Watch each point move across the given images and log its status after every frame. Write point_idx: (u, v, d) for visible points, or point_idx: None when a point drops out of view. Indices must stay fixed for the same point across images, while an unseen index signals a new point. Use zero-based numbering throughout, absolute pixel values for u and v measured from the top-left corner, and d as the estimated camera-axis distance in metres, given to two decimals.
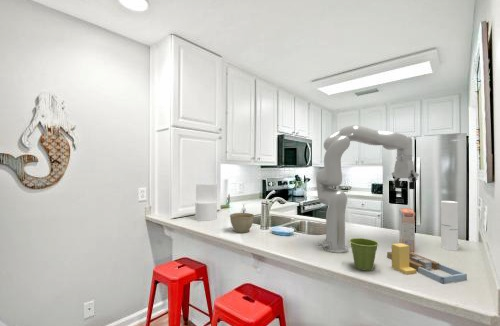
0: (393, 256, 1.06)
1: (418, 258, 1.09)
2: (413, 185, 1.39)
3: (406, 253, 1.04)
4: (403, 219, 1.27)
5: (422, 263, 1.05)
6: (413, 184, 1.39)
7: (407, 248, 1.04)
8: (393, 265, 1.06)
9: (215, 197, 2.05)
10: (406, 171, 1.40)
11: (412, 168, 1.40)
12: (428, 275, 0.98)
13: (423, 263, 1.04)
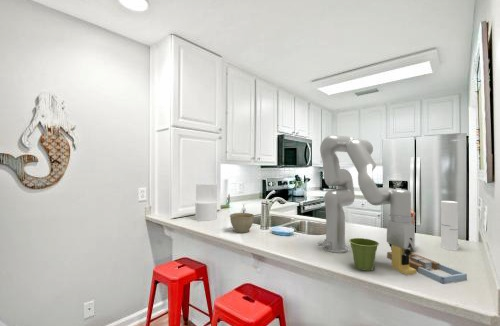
0: (393, 256, 1.06)
1: (418, 258, 1.09)
2: (407, 260, 1.02)
3: None
4: None
5: (422, 263, 1.05)
6: (407, 259, 1.02)
7: None
8: (393, 265, 1.06)
9: (215, 197, 2.05)
10: (403, 239, 1.01)
11: (411, 235, 1.01)
12: (428, 275, 0.98)
13: (423, 263, 1.04)
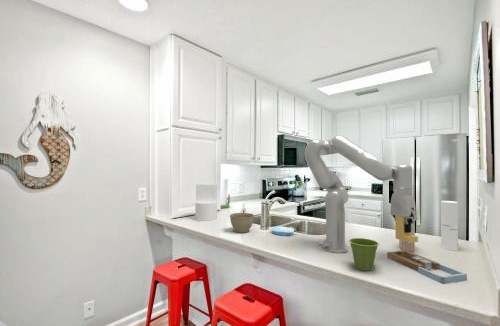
0: (396, 225, 1.17)
1: (418, 258, 1.09)
2: (409, 228, 1.13)
3: None
4: None
5: (422, 263, 1.05)
6: (409, 227, 1.13)
7: None
8: (397, 234, 1.17)
9: (215, 197, 2.05)
10: (405, 209, 1.12)
11: (413, 205, 1.12)
12: (428, 275, 0.98)
13: (423, 263, 1.04)
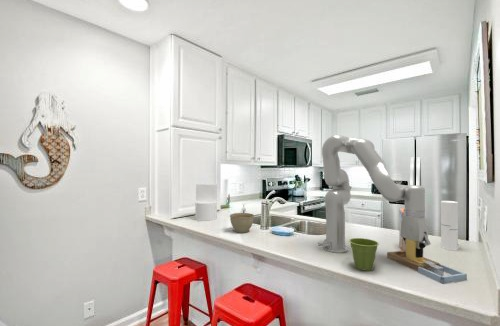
0: (407, 249, 1.11)
1: (430, 263, 1.03)
2: (421, 253, 1.07)
3: None
4: None
5: (434, 269, 1.00)
6: (421, 251, 1.07)
7: None
8: (407, 258, 1.11)
9: (215, 197, 2.05)
10: (417, 233, 1.06)
11: (425, 229, 1.06)
12: (428, 275, 0.98)
13: (435, 269, 1.00)
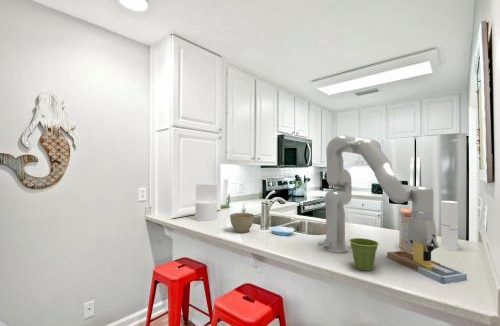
0: (414, 252, 1.07)
1: (439, 267, 1.00)
2: (429, 256, 1.04)
3: None
4: (403, 219, 1.27)
5: (443, 273, 0.97)
6: (429, 255, 1.04)
7: None
8: (415, 261, 1.07)
9: (215, 197, 2.05)
10: (425, 235, 1.02)
11: (433, 231, 1.02)
12: (428, 275, 0.98)
13: (444, 273, 0.96)
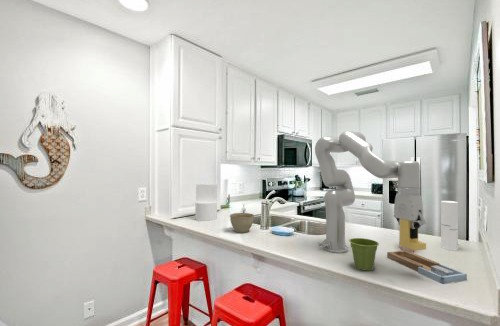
0: (401, 230, 1.02)
1: (439, 267, 1.00)
2: (416, 233, 0.98)
3: None
4: None
5: (443, 273, 0.97)
6: (416, 232, 0.98)
7: None
8: (401, 239, 1.02)
9: (215, 197, 2.05)
10: (411, 211, 0.97)
11: (420, 207, 0.97)
12: (428, 275, 0.98)
13: (444, 273, 0.96)
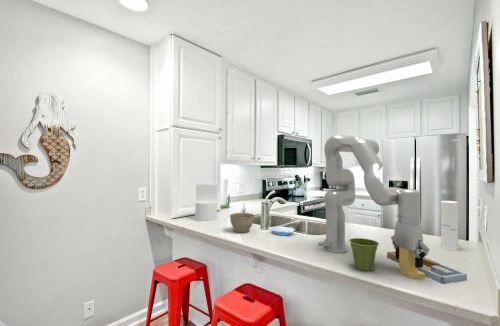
0: (400, 259, 1.02)
1: (439, 267, 1.00)
2: (421, 262, 0.96)
3: (414, 256, 1.00)
4: None
5: (443, 273, 0.97)
6: (421, 261, 0.96)
7: None
8: (401, 269, 1.02)
9: (215, 197, 2.05)
10: (411, 241, 0.97)
11: (420, 237, 0.97)
12: (428, 275, 0.98)
13: (444, 273, 0.96)
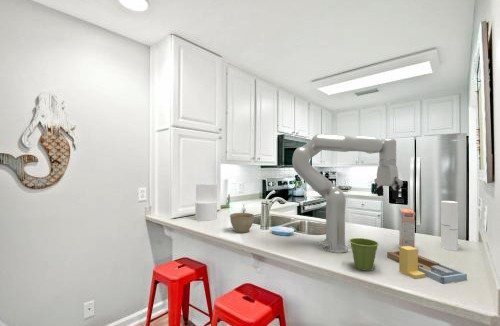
0: (400, 259, 1.02)
1: (439, 267, 1.00)
2: (397, 194, 1.21)
3: (414, 256, 1.00)
4: (403, 219, 1.27)
5: (443, 273, 0.97)
6: (397, 193, 1.21)
7: (415, 251, 1.00)
8: (401, 269, 1.02)
9: (215, 197, 2.05)
10: (389, 178, 1.23)
11: (396, 174, 1.22)
12: (428, 275, 0.98)
13: (444, 273, 0.96)
